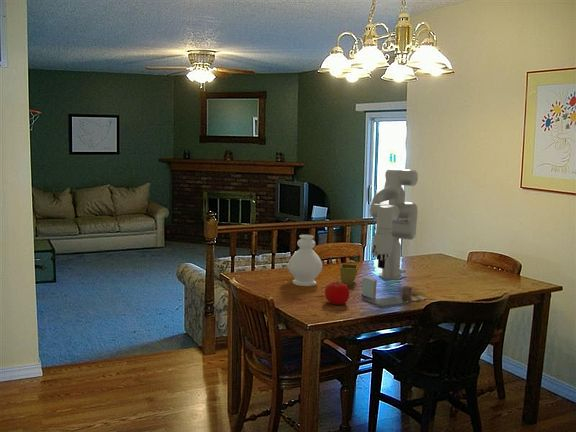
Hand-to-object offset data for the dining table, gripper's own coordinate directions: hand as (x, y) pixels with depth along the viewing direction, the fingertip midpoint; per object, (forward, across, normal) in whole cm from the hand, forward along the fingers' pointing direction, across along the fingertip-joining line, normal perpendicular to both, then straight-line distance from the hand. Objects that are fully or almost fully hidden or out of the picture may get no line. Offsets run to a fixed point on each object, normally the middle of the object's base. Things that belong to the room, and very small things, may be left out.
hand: (381, 267), depth 307 cm
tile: (+14, +6, -1) cm, 15 cm away
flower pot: (+14, -1, -26) cm, 29 cm away
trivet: (+14, +5, +12) cm, 20 cm away
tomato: (+15, +28, +2) cm, 32 cm away
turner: (+14, -10, +13) cm, 22 cm away
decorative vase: (+14, +21, -35) cm, 43 cm away
